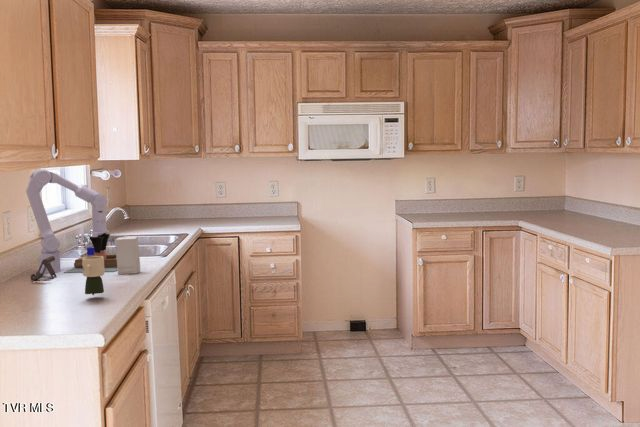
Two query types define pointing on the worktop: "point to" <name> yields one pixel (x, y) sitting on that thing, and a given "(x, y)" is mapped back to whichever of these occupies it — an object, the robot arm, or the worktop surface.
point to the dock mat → (80, 270)
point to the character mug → (93, 274)
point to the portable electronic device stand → (47, 264)
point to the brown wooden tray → (108, 262)
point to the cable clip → (91, 251)
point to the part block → (101, 254)
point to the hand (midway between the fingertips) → (100, 251)
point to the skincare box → (127, 255)
